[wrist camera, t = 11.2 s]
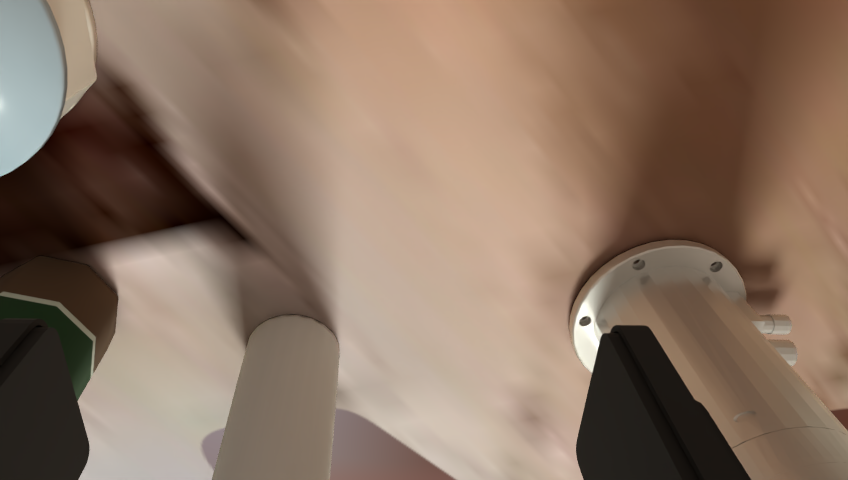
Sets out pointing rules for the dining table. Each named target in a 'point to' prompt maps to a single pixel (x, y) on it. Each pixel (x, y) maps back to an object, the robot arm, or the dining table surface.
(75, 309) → the beer bottle
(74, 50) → the bowl
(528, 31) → the dining table surface
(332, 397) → the bottle
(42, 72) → the lid
